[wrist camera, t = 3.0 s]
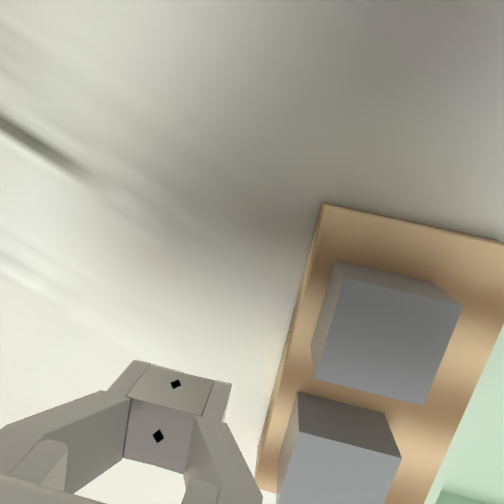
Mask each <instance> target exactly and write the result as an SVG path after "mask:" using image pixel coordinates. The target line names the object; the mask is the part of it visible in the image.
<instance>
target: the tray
mask: <svg viewBox="0 0 504 504" xmlns="http://www.w3.org/2000/svg"><path fill="white" fill-rule="evenodd" d="M424 504H504V324H503V327H502V329H501V331H500V333H499V336H498V338H497V340H496V342H495V345H494V347H493V349H492V351H491V354H490V356H489V358H488V360H487V363H486V365H485V367H484V369H483V372H482V374H481V376H480V378H479V381H478V383H477V385H476V387H475V390H474V392H473V394H472V396H471V399H470V401H469V403H468V405H467V408H466V410H465V412H464V414H463V417H462V419H461V421H460V423H459V426H458V428H457V430H456V432H455V435H454V437H453V439H452V441H451V444H450V446H449V448H448V450H447V453H446V455H445V457H444V459H443V462H442V464H441V466H440V468H439V471H438V473H437V475H436V477H435V480H434V482H433V484H432V486H431V489H430V491H429V493H428V495H427V497H426V500H425V502H424Z"/></svg>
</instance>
